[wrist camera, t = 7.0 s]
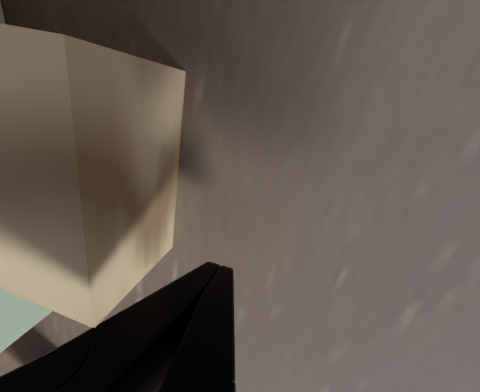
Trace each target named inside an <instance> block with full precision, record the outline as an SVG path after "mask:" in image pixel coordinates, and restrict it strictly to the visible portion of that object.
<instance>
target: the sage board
mask: <svg viewBox="0 0 480 392" xmlns="http://www.w3.org/2000/svg"><path fill="white" fill-rule="evenodd" d="M0 23H1V24H5V19H4V14H3V10H2V5H1V0H0ZM51 312H52V310H50V309H47V308H45V307H43V306H40V305H38V304H36V303H34V302H31V301H29V300H27V299H24V298H22V297H20V296H17V295H15V294H13V293H10V292H8V291H6V290H3V289H1V288H0V353H1V352H2V351H3V350H5V349H6V348H7V347H8V346H10V345H11V344H12V343H13V342H15V341H16V340H17V339H18V338H20V337H21V336H22V335H23V334H25V333H26V332H27V331H28V330H30V329H31V328H32V327H33V326H35V325H36V324H37V323H38V322H40V321H41V320H42V319H43V318H45V317H46V316H47V315H48V314H50V313H51Z"/></svg>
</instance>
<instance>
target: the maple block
mask: <svg viewBox="0 0 480 392" xmlns="http://www.w3.org/2000/svg"><path fill="white" fill-rule="evenodd" d="M185 75H186V71H183V70H180V69H176V68H173V67H170V66H166V65H163V64H160V63H156V62H153V61H150V60H147V59H143V58H140V57H137V56H133V55H130V54H127V53H123V52H120V51H117V50H113V49H110V48H107V47H104V46H100V45H97V44H94V43H90V42H87V41H84V40H80V39H77V38H74V37H71V36H67V35H64V34H58V33H53V32H47V31H41V30H35V29H30V28H24V27H18V26H13V25H7V24H1V23H0V288H1V289H3V290H6V291H8V292H10V293H13V294H15V295H17V296H20V297H22V298H24V299H27V300H29V301H31V302H34V303H36V304H38V305H40V306H43V307H45V308H47V309H50V310H52V311H54V312H57V313H59V314H61V315H64V316H66V317H68V318H71V319H73V320H75V321H78V322H80V323H82V324H85V325H87V326H89V327H92V328H93V327H96V326H97V325H98V324H99V323H100V322H101V321H102V320H103V319H104V318H105V317H106V315H107V314H108V313H109V312H110V311H111V310H112V309H113V308H114V307H115V306H116V305H117V304H118V303H119V302H120V301H121V300H122V299H123V298H124V297H125V296H126V295H127V294H128V293H129V292H130V291H131V290H132V288H133V287H134V286H135V285H136V284H137V283H138V282H139V281H140V280H141V279H142V278H143V277H144V276H145V275H146V274H147V273H148V272H149V271H150V270H151V269H152V268H153V267H154V266H155V265H156V264H157V263H158V261H159V260H160V259H161V258H162V257H163V256H164V255H165V254H166V253H167V252H168V251H169V250H170V249H171V248H172V244H173V231H174V218H175V205H176V192H177V179H178V166H179V153H180V140H181V127H182V114H183V101H184V88H185Z"/></svg>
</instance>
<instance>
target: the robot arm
mask: <svg viewBox="0 0 480 392" xmlns="http://www.w3.org/2000/svg"><path fill="white" fill-rule="evenodd" d="M0 392H236V387H235V338H234V279H233V269H232V268H229V267H226V266H220V265H219V264H215V263H212V262H206V263H204V264H203V265H201V266H199V267H197V268H196V269H194V270H192V271H191V272H189V273H187V274H185V275H184V276H182V277H180V278H178V279H177V280H175V281H173V282H171V283H170V284H168V285H166V286H164V287H163V288H161V289H159V290H157V291H156V292H154V293H152V294H150V295H149V296H147V297H145V298H143V299H142V300H140V301H138V302H136V303H135V304H133V305H131V306H129V307H128V308H126V309H124V310H123V311H121V312H119V313H117V314H116V315H114V316H112V317H110V318H109V319H107V320H105V321H103V322H102V323H100V324H98V325H97V326H96V328H95V327H93V328H91V329H89V330H87V331H86V332H84V333H82V334H80V335H79V336H77V337H75V338H73V339H72V340H70V341H68V342H66V343H64V344H62V345H61V346H59V347H57V348H55V349H53V350H51V351H50V352H48V353H46V354H44V355H42V356H40V357H37V358H36V359H34V360H32V361H30V362H28V363H26V364H24V365H22V366H20V367H18V368H16V369H14V370H12V371H10V372H8V373H6V374H4V375H2V376H0Z"/></svg>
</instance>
